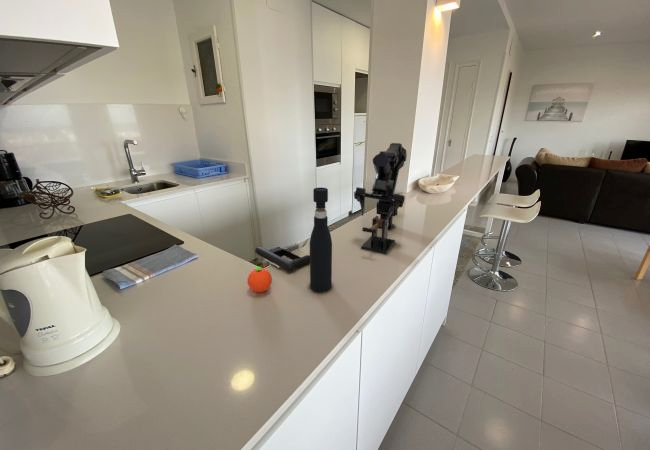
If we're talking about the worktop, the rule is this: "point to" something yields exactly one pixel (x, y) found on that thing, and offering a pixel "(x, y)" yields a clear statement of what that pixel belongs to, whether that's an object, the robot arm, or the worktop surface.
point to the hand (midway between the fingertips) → (374, 217)
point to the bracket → (379, 239)
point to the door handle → (276, 258)
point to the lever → (374, 227)
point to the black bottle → (320, 245)
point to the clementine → (259, 279)
